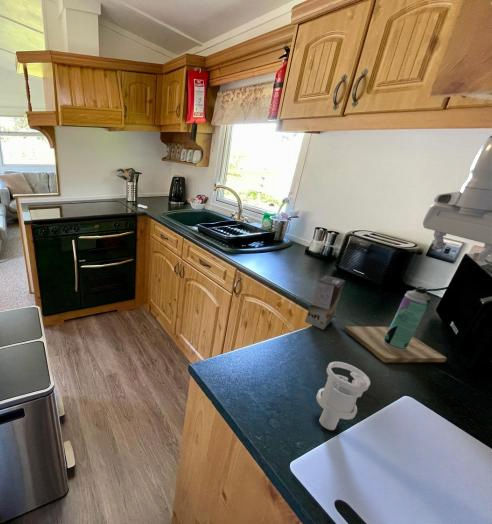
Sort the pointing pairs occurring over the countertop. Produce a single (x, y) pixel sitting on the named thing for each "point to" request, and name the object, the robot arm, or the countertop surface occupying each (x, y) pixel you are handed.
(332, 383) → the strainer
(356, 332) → the chopping board
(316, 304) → the coffee box
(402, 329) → the spray can
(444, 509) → the countertop surface
